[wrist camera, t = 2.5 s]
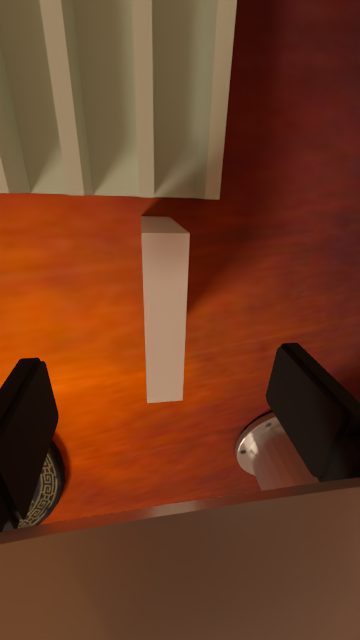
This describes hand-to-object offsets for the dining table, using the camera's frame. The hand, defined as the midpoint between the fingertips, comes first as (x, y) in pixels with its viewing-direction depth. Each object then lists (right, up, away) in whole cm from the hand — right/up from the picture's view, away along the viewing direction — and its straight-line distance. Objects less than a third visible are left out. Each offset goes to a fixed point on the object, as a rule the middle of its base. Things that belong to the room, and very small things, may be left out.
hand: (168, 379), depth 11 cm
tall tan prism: (-2, +6, +14) cm, 15 cm away
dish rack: (-4, +19, +7) cm, 20 cm away
